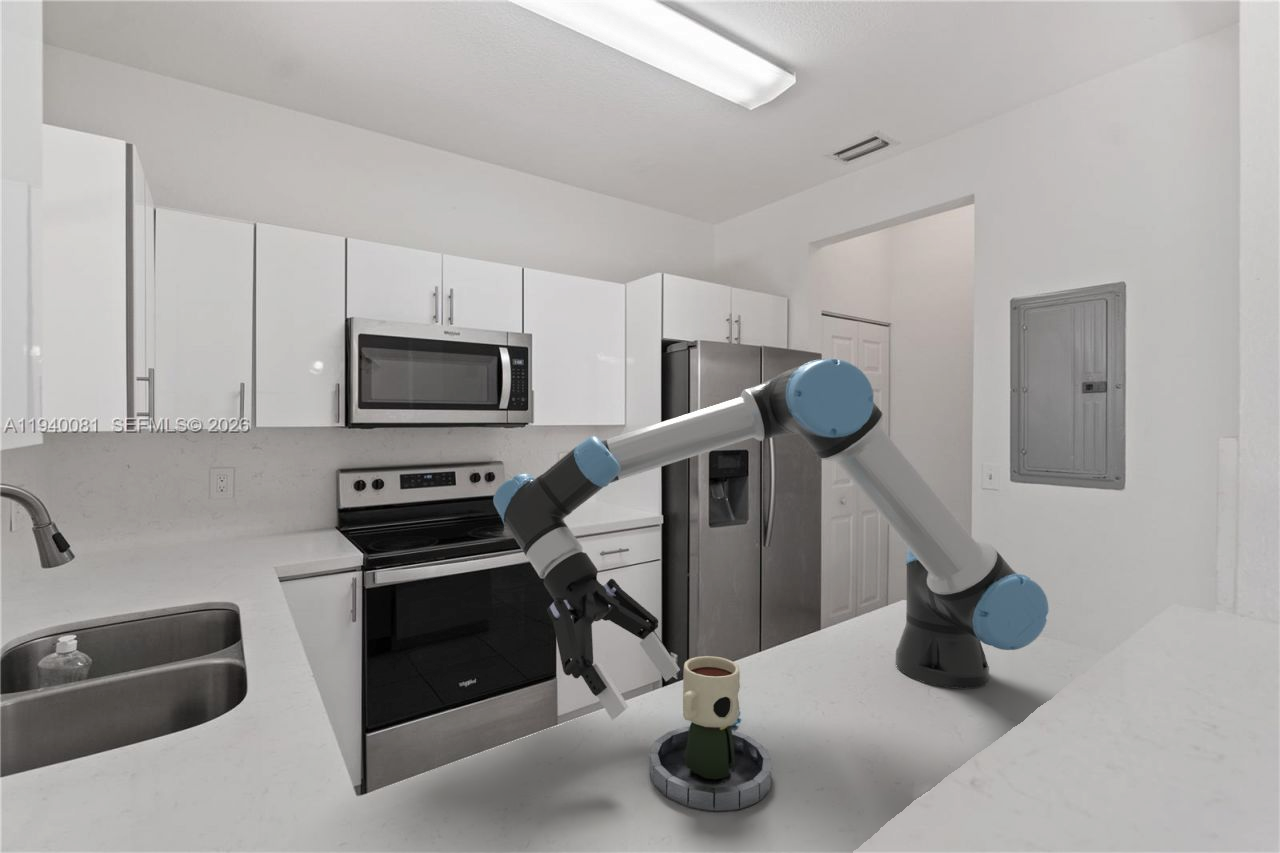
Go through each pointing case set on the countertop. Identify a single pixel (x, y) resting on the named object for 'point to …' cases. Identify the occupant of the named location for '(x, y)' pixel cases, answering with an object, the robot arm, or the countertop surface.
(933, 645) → the robot arm
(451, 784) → the countertop surface
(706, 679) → the character mug
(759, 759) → the grey round tray
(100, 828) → the countertop surface
